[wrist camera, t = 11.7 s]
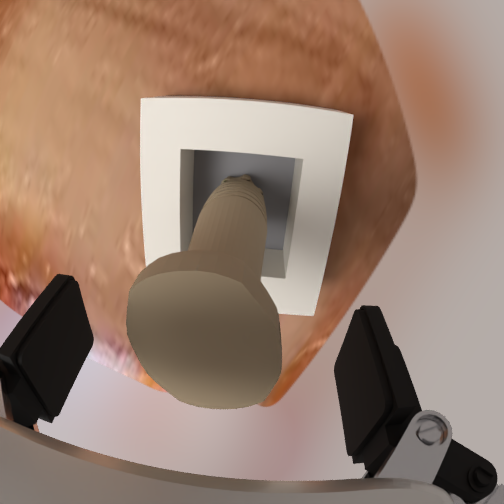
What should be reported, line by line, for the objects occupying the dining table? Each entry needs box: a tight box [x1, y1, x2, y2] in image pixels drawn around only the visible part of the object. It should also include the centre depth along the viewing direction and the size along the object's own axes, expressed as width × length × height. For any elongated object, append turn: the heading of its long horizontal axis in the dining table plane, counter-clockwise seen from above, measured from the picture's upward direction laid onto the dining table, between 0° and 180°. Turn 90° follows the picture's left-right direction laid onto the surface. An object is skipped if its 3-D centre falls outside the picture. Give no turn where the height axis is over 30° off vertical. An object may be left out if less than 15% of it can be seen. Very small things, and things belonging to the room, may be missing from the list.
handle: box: [126, 174, 282, 409], centre depth 16 cm, size 5×6×15 cm
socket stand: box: [140, 96, 354, 316], centre depth 22 cm, size 14×12×5 cm
